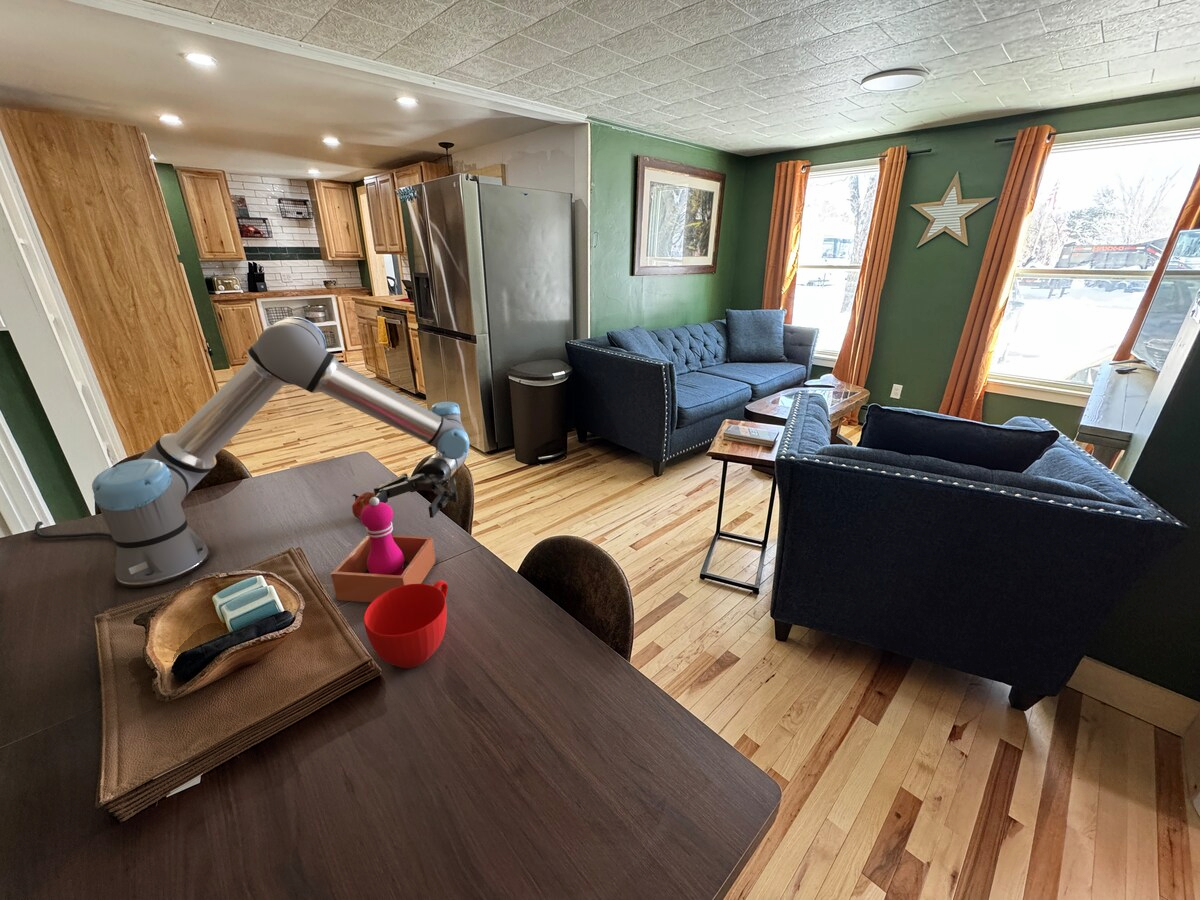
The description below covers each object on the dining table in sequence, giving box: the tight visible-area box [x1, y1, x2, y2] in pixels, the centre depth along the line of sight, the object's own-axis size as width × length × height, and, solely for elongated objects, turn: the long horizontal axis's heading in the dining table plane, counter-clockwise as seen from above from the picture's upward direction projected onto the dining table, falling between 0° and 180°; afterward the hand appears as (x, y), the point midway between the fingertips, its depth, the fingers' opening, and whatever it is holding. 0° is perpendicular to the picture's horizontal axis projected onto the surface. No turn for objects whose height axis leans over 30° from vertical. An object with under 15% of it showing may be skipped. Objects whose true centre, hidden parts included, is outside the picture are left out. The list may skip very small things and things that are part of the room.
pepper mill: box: [360, 497, 405, 576], centre depth 98 cm, size 7×7×20 cm
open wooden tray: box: [330, 534, 436, 603], centre depth 101 cm, size 15×15×6 cm
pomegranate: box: [351, 491, 375, 520], centre depth 124 cm, size 7×7×10 cm
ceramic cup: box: [363, 580, 449, 669], centre depth 83 cm, size 13×17×10 cm
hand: (400, 511), depth 105 cm, fingers open, 13 cm apart
